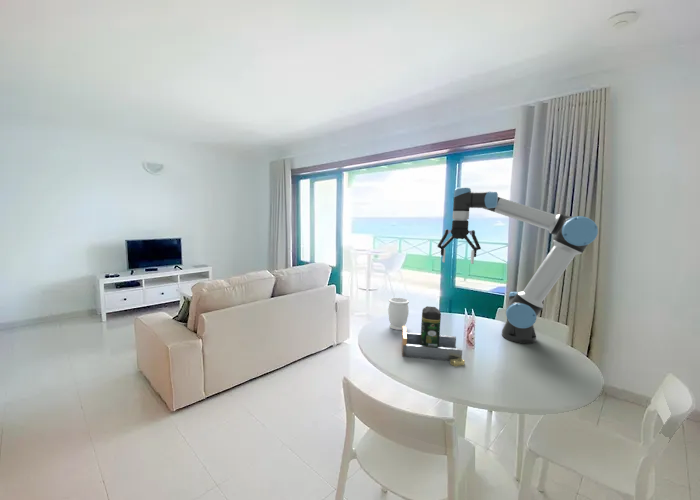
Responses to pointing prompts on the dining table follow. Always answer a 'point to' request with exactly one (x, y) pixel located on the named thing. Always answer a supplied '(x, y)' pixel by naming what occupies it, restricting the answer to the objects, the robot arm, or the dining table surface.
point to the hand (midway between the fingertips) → (457, 262)
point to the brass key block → (457, 362)
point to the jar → (398, 313)
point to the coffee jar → (430, 326)
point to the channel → (429, 347)
